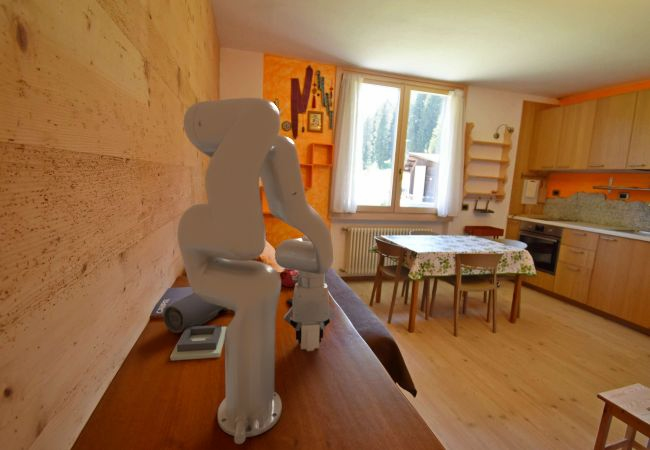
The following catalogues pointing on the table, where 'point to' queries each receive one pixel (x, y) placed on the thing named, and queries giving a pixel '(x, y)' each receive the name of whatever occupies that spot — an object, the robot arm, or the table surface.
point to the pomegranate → (288, 277)
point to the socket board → (200, 343)
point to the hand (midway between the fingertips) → (309, 340)
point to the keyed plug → (310, 335)
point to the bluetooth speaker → (189, 313)
